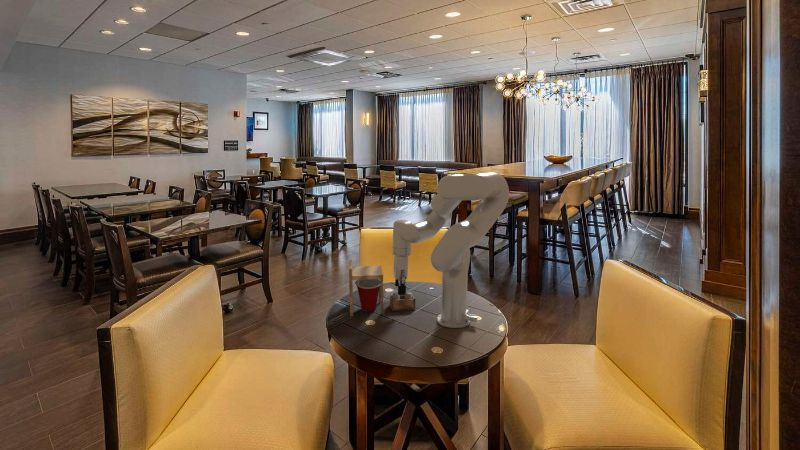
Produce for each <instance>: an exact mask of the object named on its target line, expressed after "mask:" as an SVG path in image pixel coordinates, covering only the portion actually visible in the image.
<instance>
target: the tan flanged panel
mask: <svg viewBox="0 0 800 450" xmlns="http://www.w3.org/2000/svg"><path fill="white" fill-rule="evenodd" d="M361 279H380V280H381V285H380V288H379V293H378V304H380V315H381V316H383V315H384V273H383V270H382V265H359V266H358V265H357V266H355V265H354V266H353V260H352V259H348V280H349V281H348V283H349V284H348V285H349V287H348V288H349V290H348V291H349V317H354V302H353V301H354V295H353V293H354V292H353V288H354V287H353V281H356V280H361Z"/></svg>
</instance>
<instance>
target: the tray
mask: <svg viewBox="0 0 800 450" xmlns="http://www.w3.org/2000/svg"><path fill="white" fill-rule="evenodd" d="M389 308H390V311H391V312H394V311H395V312H396V311H397V312H399V311H414V310H415V311H416V298H415V295H414V294H413V293H412V292H407V291H406V295H398V292H394V293H392V295H391V294H390V295H389Z"/></svg>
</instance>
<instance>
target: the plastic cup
mask: <svg viewBox="0 0 800 450" xmlns="http://www.w3.org/2000/svg"><path fill="white" fill-rule="evenodd" d="M354 284H355V285H356V288H357V291H358V298H359V302H360V307H361V310H362V311H363V312H373V311H375V310H376V309H377V305H378V304H377V303H378V300H379V288H380V285H381V280H380V279H361V280H355V283H354Z"/></svg>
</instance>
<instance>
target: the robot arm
mask: <svg viewBox="0 0 800 450" xmlns="http://www.w3.org/2000/svg"><path fill="white" fill-rule="evenodd" d="M436 191H437V193H436V194H435V196H434V197H433V198H431V201H430V207H431V210H432V211H431V212H430V214H428V216H427V217H426V218H425V219H424V220H422V221H419V222H415V223H413V222H412V221H410V220H408V219H397V220H395V221H394V222H393V224H392V225H393V226H392V229H393V230H392V231H393V232H392V255H393V256H394V257H393V268H392V269H393V270H392V272H393V273H392V274H393V277H394V279H395V280H394V281H395V283H394V285H395V287H397V293H398V295H406V293H407V283H406V282H407V279H408V275H409V274H408V273H409V257H410V256H411V255H412V244H419V243H421V242H425V241H427V240H430V239H432V238H433V237H435V236H436V235H437V234H438V233H439V232H440V230H442V228H443V227H444V226H445V225H446V223H447V220H448V218H449V216H450V214H451V213H452V212H453V211H454V210H455V209H456V208H457V206H459V205H460V204H461V202H462V201H480V200H481V201H480V202H478V204H476V206H475V207H474V208H473V210H472V212H471V213H470V214H469V215H468V217H467V218H466V219H465V220H461V221H460V222H457V223H455V224H453V225H452V226H450V227H449V228H448V229H447V231H446V232H445V233H444V234H443V235H442V237H441V238H440V240H439V241H438V242H437V244H436V245H435V247H434V248H433V250H432V251H431V254H430V263H431V265H432V267H433V268H434V269H435V270H436V271H437V272H441V273H442V274H441V275H442V276H441V300H440V301H441V302H440V303H441V305H440V306H441V311H440V312H441V313H440V314H438V315H437V317H436V322H437V323H438V325H440V326H442V327H444V328H445V327H446V328H449V329H463V328H465V327H467V326H469V325H470V323H471V322H475V323H478V319H479V318H478V316H476V314H473V313H472V314H471V313H470V312H469V309H468V308H467V304H468V300H467V299H468V281H469V280H468V279H469V278H468V276H469V275H468V274H469V267H470V264H471V263H470V262H471V249H470V248H472V247H475V246H477V245H479V243H481V241H483V239H484V237H485V236H486V234H487V233H488V232H489V231H490V229H491V228H492V227H493V226H494V224H495V223H496V222H497V220H498V219H499V217H500V216H501V215H502V214H503V212H504V210H505V209H506V207H507V204H508V202H509V198H510V189H509V184H508V182H507V180H506V179H505V177H504V176H503V175H501V174H500V173H497V172H492V171H491V172H483V173H475V174H465V175H464V174H462V173H455V174H449V175H445V176H443V177H442V178H441V179H440V180H439V181H438V184H437V186H436Z"/></svg>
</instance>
